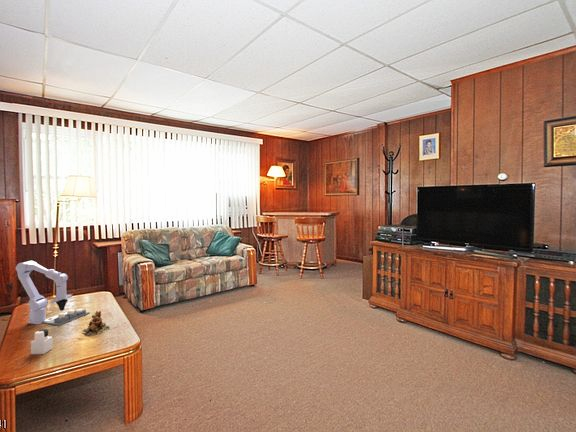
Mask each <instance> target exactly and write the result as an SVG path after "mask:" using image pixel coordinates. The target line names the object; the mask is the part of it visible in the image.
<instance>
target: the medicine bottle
mask: <svg viewBox="0 0 576 432" xmlns="http://www.w3.org/2000/svg"><path fill="white" fill-rule="evenodd" d="M52 349H53V336H49V329H45V328H43V329H39V330H37V331H36V330H35V332H34V339H33V340H31V341H30V354H31V355H45V354H47V352H49V351H50V350H52Z"/></svg>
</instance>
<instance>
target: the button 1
mask: <svg viewBox="0 0 576 432" xmlns="http://www.w3.org/2000/svg"><path fill="white" fill-rule="evenodd" d="M57 315H58V319H62V318H65V313H64V312H61V313H58V314H57Z"/></svg>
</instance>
